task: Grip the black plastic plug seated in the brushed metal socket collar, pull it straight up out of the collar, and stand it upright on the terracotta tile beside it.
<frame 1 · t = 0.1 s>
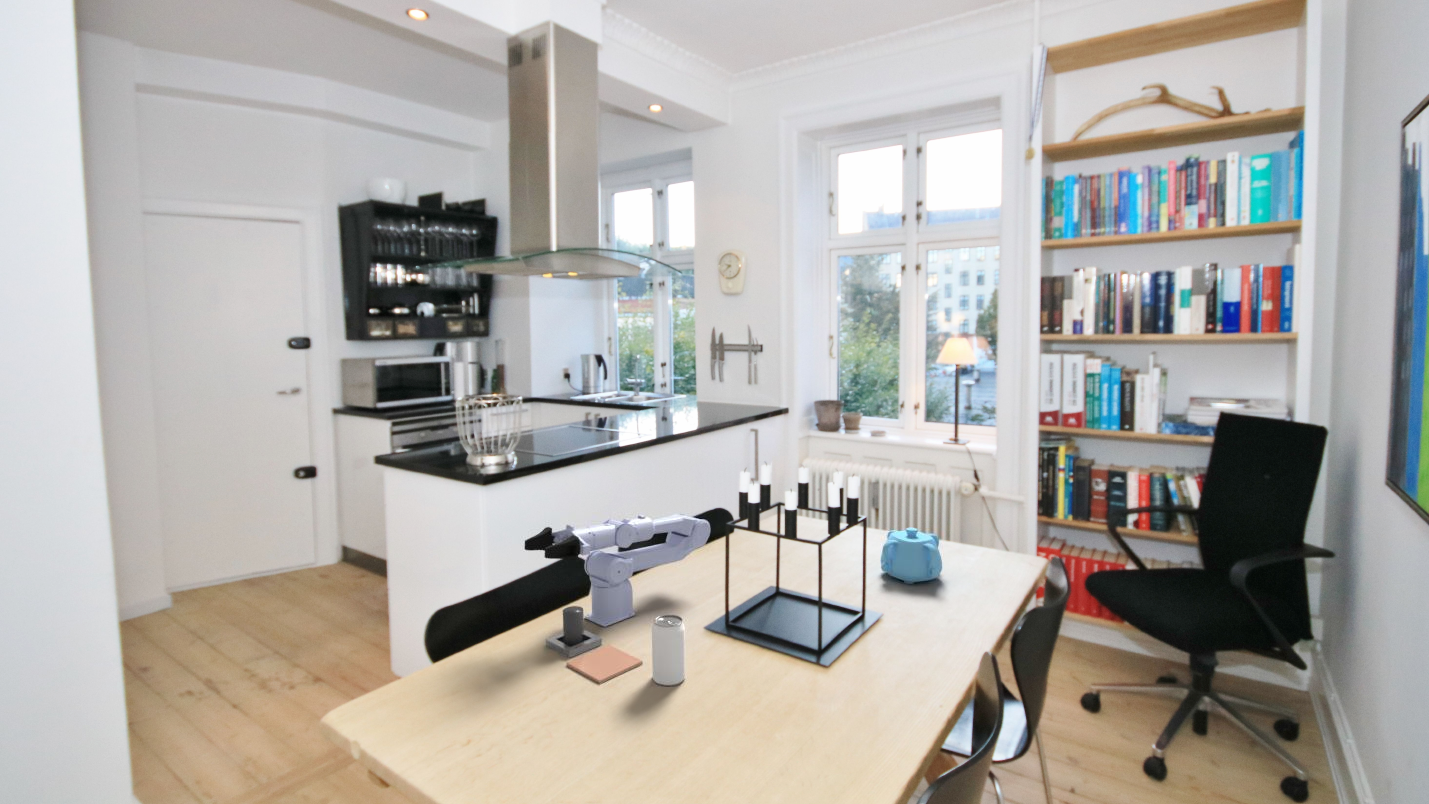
hand: (535, 549, 153), 22 cm above the table, tool horizontal, fingers open, 7 cm apart
plug: (574, 645, 155), resting in socket collar
socket collar: (574, 644, 155), on the table
can: (669, 679, 141), on the table
tile: (604, 664, 146), on the table
decorative pot: (910, 577, 196), on the table
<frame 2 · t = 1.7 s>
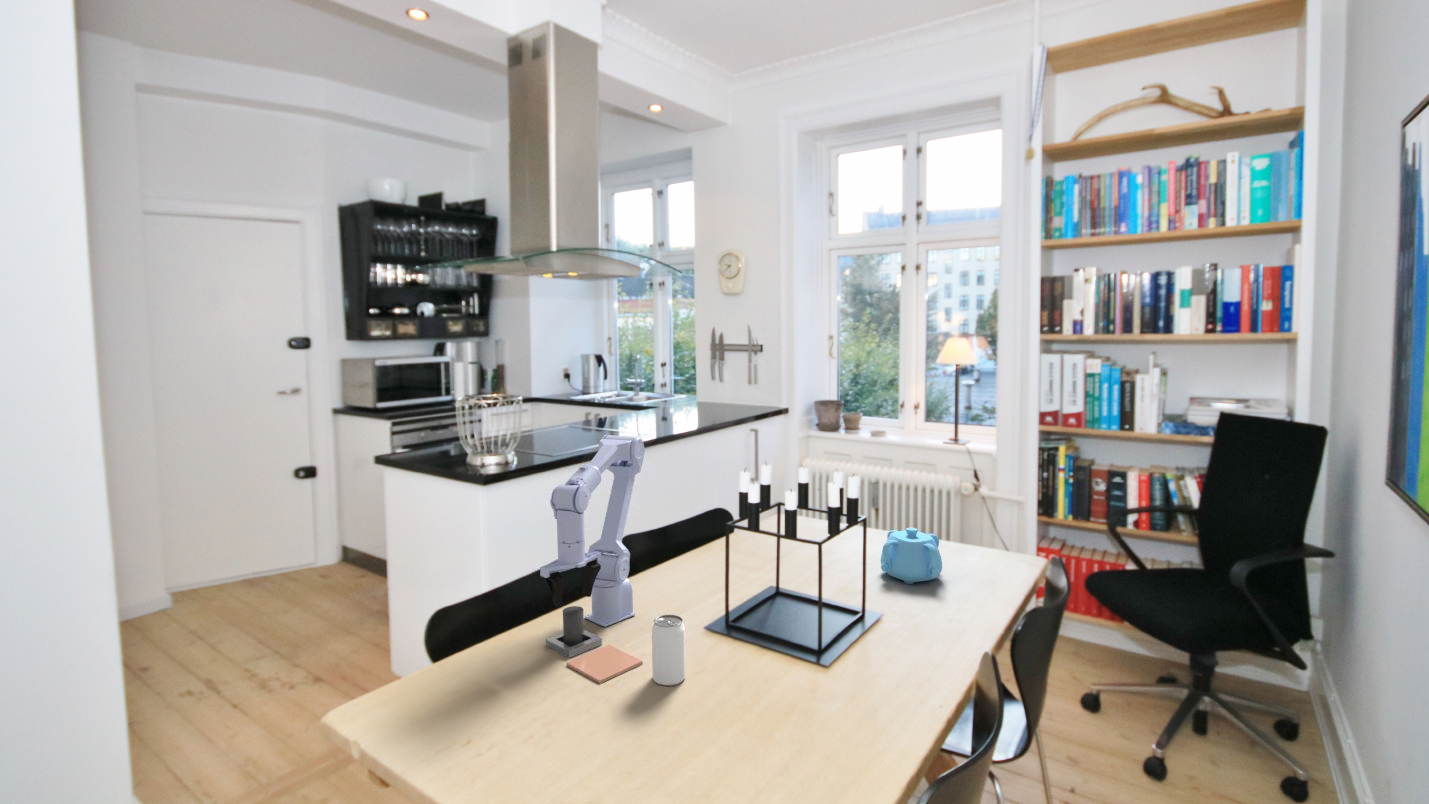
hand: (572, 600, 154), 10 cm above the table, tool pointing down, fingers open, 7 cm apart
nothing on the table moved.
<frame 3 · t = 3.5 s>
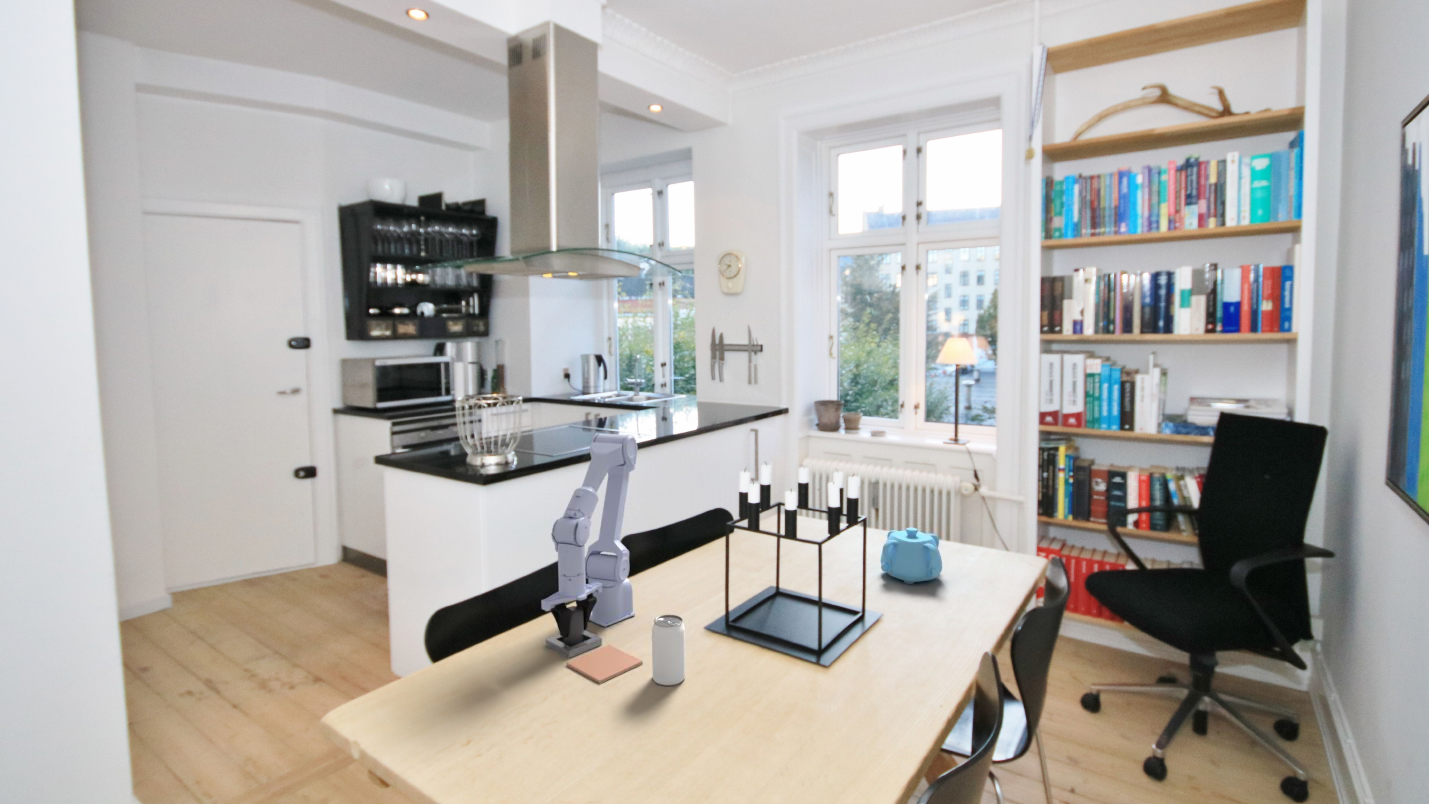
hand: (573, 632, 155), 3 cm above the table, tool pointing down, fingers closed on plug, 4 cm apart
plug: (574, 645, 155), resting in socket collar, touching gripper
everything else where it was.
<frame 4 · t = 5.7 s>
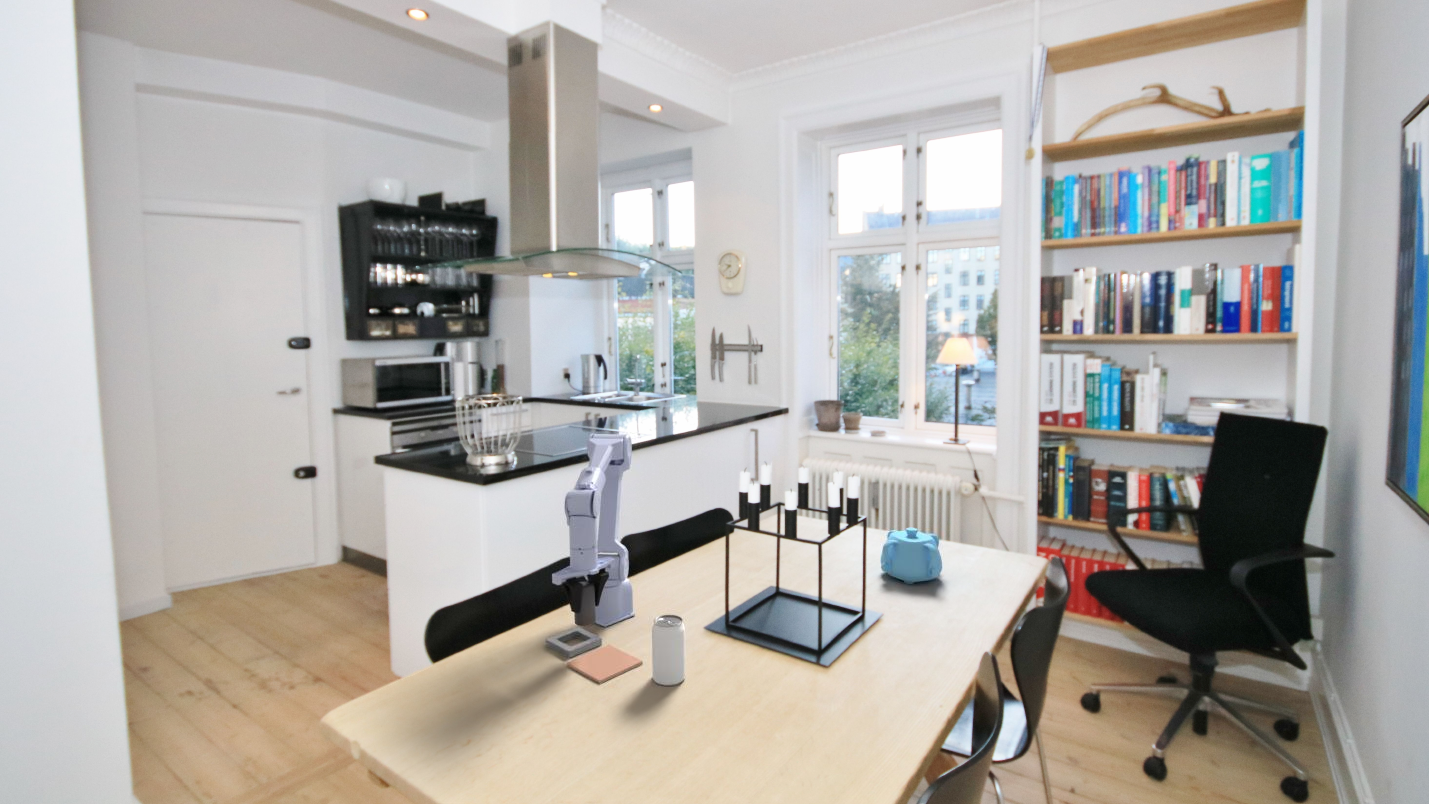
hand: (585, 608, 150), 10 cm above the table, tool pointing down, fingers closed on plug, 4 cm apart
plug: (585, 621, 151), point 7 cm above the table, touching gripper
everything else where it was.
when the fingers open (5 cm above the table, at t = 8.0 s): plug stays where it is, resting on tile.
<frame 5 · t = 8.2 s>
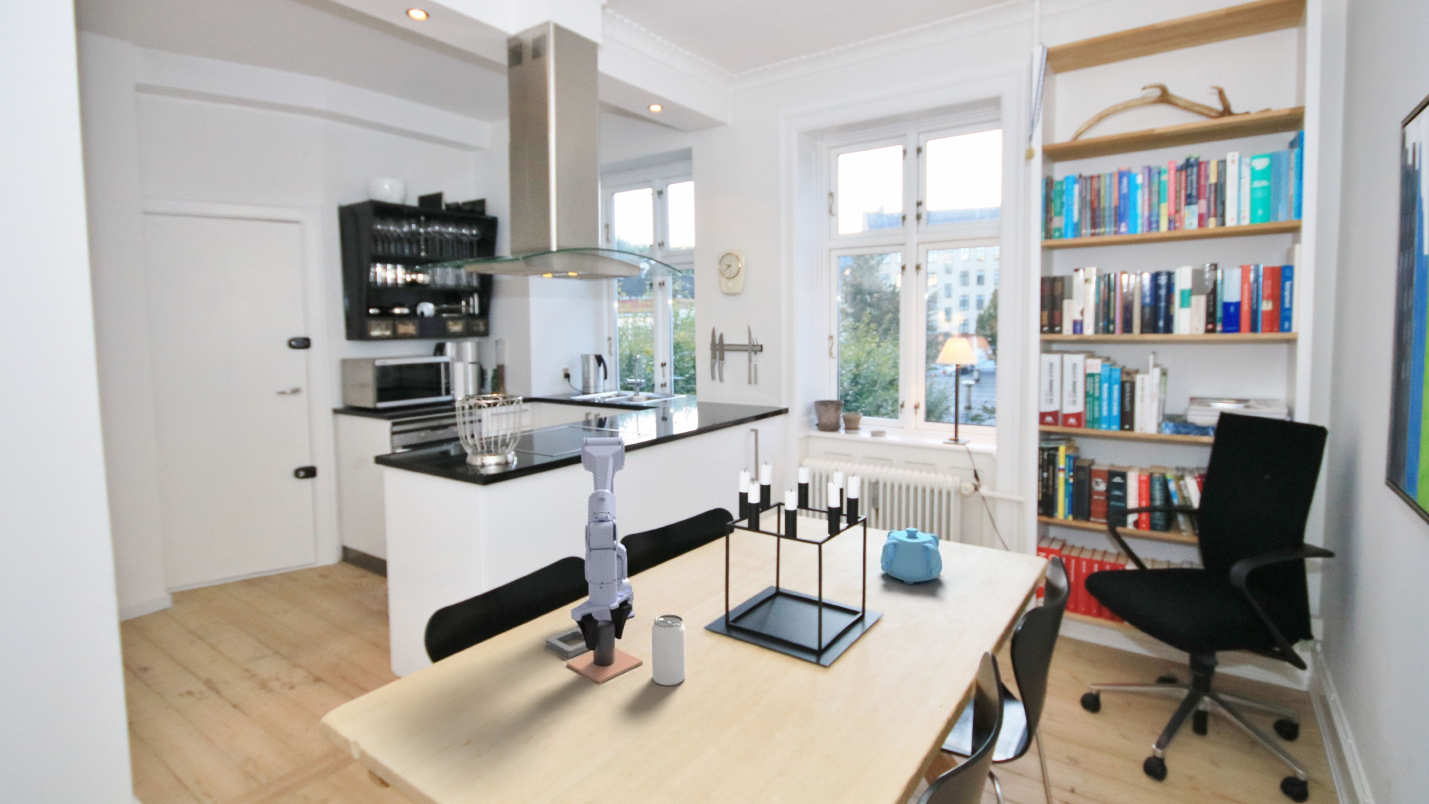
hand: (604, 643, 146), 5 cm above the table, tool pointing down, fingers open, 6 cm apart
plug: (604, 661, 146), point 1 cm above the table, touching tile
everything else where it was.
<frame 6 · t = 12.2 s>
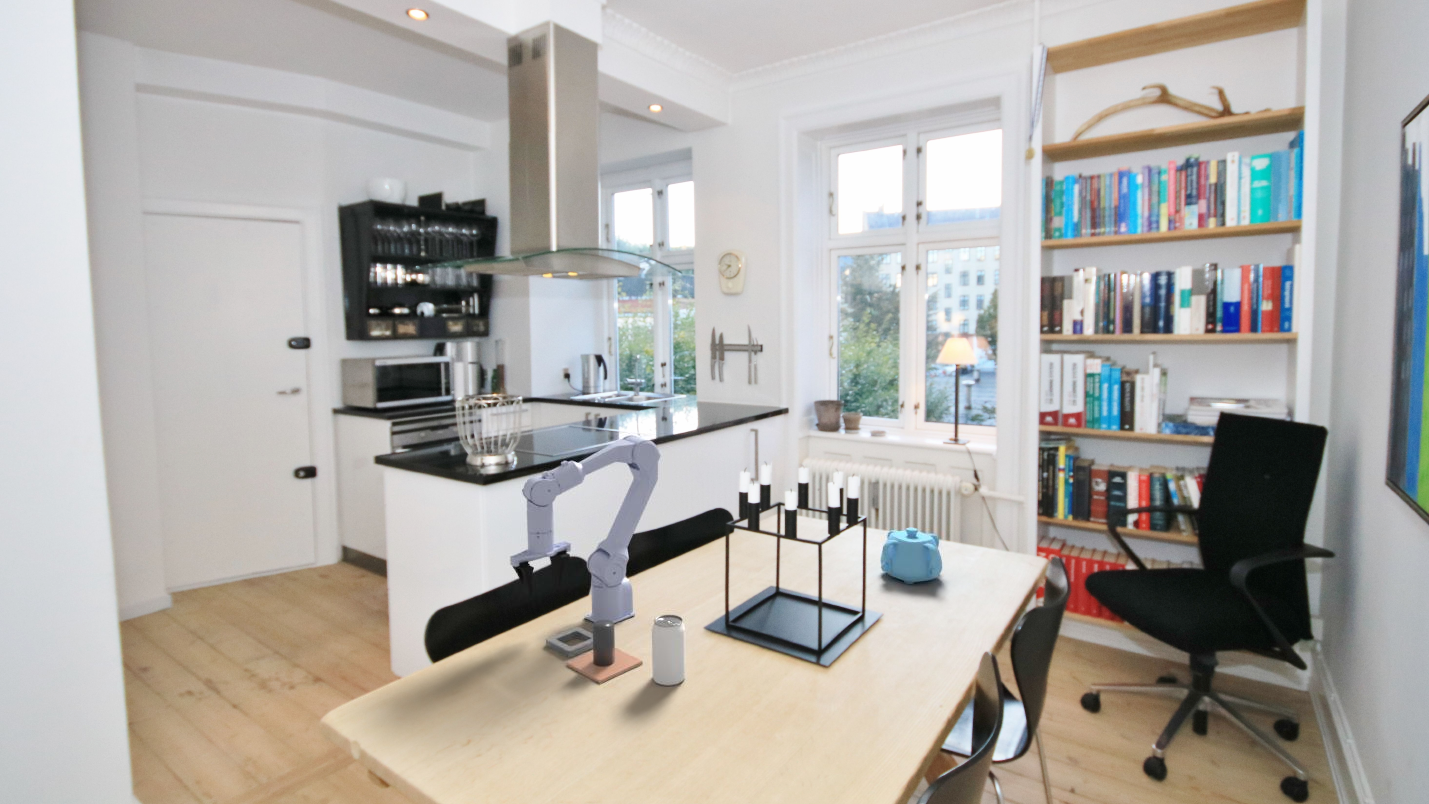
hand: (542, 588, 160), 10 cm above the table, tool pointing down, fingers open, 7 cm apart
nothing on the table moved.
at the end: plug 0.2 cm off-centre on the tile, point 0.6 cm above the tile's base; plug tilted 0°; the gripper is holding nothing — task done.
